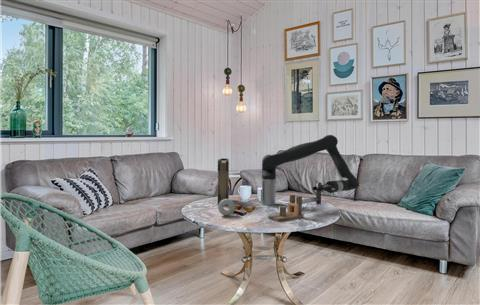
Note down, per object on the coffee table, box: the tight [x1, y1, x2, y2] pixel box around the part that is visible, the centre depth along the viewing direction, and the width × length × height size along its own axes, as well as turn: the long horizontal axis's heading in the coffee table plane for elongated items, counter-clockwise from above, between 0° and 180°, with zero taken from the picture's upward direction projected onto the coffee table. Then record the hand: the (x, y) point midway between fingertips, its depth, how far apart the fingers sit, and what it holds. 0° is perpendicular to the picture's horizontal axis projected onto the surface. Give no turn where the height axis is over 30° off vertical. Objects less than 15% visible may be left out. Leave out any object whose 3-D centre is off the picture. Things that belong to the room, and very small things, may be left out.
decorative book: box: [217, 158, 230, 207], centre depth 247 cm, size 23×7×30 cm, turn 0°
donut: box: [217, 198, 236, 217], centre depth 209 cm, size 10×4×10 cm, turn 99°
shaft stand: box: [267, 194, 305, 223], centre depth 205 cm, size 9×19×12 cm, turn 126°
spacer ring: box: [287, 202, 299, 215], centre depth 208 cm, size 7×2×6 cm, turn 36°
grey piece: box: [302, 182, 322, 205], centre depth 216 cm, size 3×18×13 cm, turn 126°
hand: (315, 188), depth 218 cm, fingers closed on grey piece, 3 cm apart
